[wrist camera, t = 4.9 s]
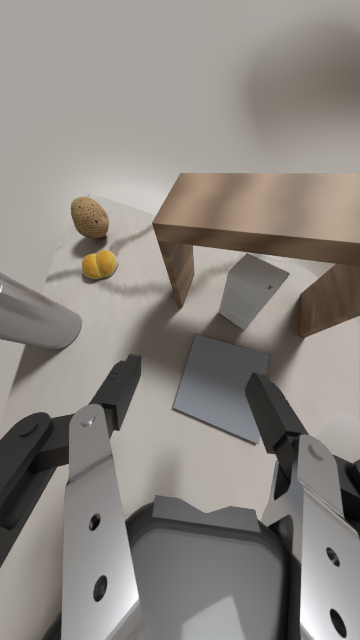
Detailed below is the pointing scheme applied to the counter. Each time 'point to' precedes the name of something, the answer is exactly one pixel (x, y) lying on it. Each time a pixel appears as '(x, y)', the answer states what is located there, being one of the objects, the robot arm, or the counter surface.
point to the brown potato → (89, 218)
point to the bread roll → (99, 264)
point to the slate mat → (220, 385)
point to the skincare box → (249, 289)
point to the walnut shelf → (270, 231)
